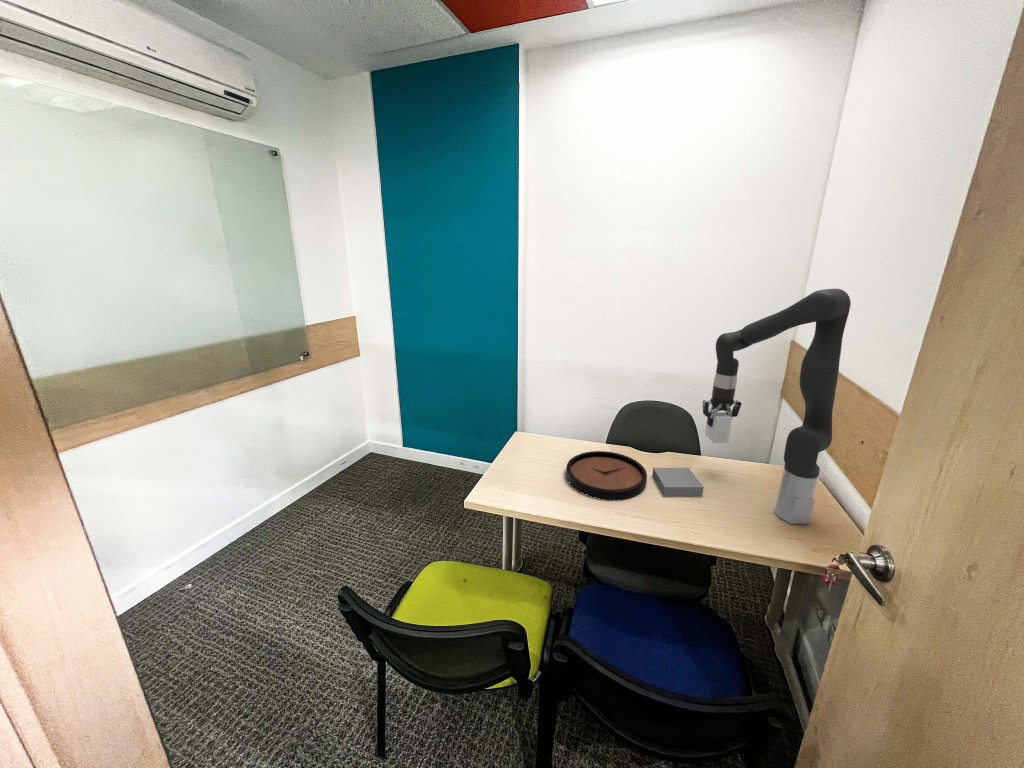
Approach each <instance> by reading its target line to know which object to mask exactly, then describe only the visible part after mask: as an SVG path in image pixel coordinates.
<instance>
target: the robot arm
mask: <svg viewBox="0 0 1024 768" xmlns="http://www.w3.org/2000/svg"><path fill="white" fill-rule="evenodd" d="M851 303H852V302H851V298H850V296H849V294H848V292H846V291H845V290H843V289H841V288H824V289H820V290H816V291H813V292H812V293H809V294H808V295H807V296H804V298H802V299H800V300H799V301H797V302H795V303H794V304H792V305H790V306H788V307H786V308H784V309H782V310H780V311H779V312H775V313H773V314H770V315H768V316H766V317H764V318H761V319H759V320H756V321H753V322H751V323H749V324H746V325H745V326H744V327H742V329H739V330H736V331H732V332H725V333H722V334H720V335H719V336H718V337H717V339H716V342H715V354H716V360H717V363H716V370H715V375H714V379H713V383H712V385H713V386H712V392H711V398H710V400H703V401H702V414H703V415H704V416H705V417H706V423H707V424H708V426H710V427H712V425H713V419H714V418H713V417H714V415H715V414H717V412H718V411H723V412H724V413H726V414H727V415H728V416H730V417H731V418H732V419H733V418H734V417H738V415H739V413H740V409H741V406H742V402H741V401H739V400H738V399H737V400H736V399H734V398H735V394H736V389H737V383H738V382H737V381H738V373H739V372H738V371H739V365H740V364H739V360H738V359H737V358H736V357H735V356H734V352H738V351H742V350H744V349H746V348H748V347H750V346H752V345H755V344H758V343H760V342H763V341H766V340H769V339H772V338H773V337H776V336H778V335H780V334H783V333H784V332H785V331H788V330H789V329H792V328H795V327H798V326H802V325H806V324H807V325H808V324H810V323H811V324H812V323H815V331H814V335H813V338H812V340H811V343H810V345H809V347H808V348H807V351H806V352H805V355H804V357H803V358H802V359H803V360H802V362H801V366H800V372H799V373H800V374H799V389H800V392H801V394H802V395H801V396H802V398H803V401H804V406H805V407H804V408H805V410H804V411H805V412H804V418H803V421H802V424H801V426H798V427H795V428H793V429H791V431H790V432H789V433H788V435H787V438H786V441H785V446H784V453H783V461H784V467H783V471H782V476H781V478H780V484H779V489H778V493H777V497H776V502H775V507H774V511H773V512H774V514H775V515H776V516H777V517H778V518H779V519H781V520H783V521H785V522H787V523H788V524H790V525H809V523H810V519H811V516H812V512H813V507H814V504H815V499H814V495H815V490H816V487H817V483H818V480H819V479H818V478H819V475H820V472H821V469H820V466H819V465H818V463H817V461H818V457H819V454H820V453H821V452H824V451H826V450H827V449H829V447H830V446H831V443H832V441H833V410H834V403H835V396H836V391H837V390H836V389H837V385H838V379H839V371H840V360H841V355H842V354H841V353H842V347H843V346H842V345H843V337H844V333H845V329H846V324H847V321H848V319H849V318H848V317H849V314H850V311H851ZM710 406H711V407H710ZM731 407H732V409H731ZM707 417H708V419H707Z"/></svg>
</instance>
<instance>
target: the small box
mask: <svg viewBox="0 0 1024 768" xmlns="http://www.w3.org/2000/svg"><path fill="white" fill-rule="evenodd" d="M713 418H714V419H713V425H712V427H710V426H708V424H707V422H706V425H705V433H704V435H705V436H706V437H707V438H708V439H709V440H710V441H711V443H713V444H729V440H730V434H731V427H732V420H733V417H732V418H731V417H730V416H728V415H727V414H726V413H725V411H718V412H717V414H715V415H714V417H713ZM707 419H708V417H706V420H707Z"/></svg>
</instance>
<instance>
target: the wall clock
mask: <svg viewBox="0 0 1024 768" xmlns="http://www.w3.org/2000/svg"><path fill="white" fill-rule="evenodd" d="M565 471H566V473H565V477H566V476H567V478H566V480H567V479H568V481H569V482H570V484H571V485H572V486H573V487H574V488H576V489H577V490H579V491H580V492H582V493H584V494H587V495H589V496H588V497H590V496H592V497H591V498H593V497H596V498H595V499H597V498H600V499H599V500H602V499H605V500H604V501H613V500H615V501H624V500H625V499H626V500H631V499H632V498H633V499H634V498H635V497H638V496H639V495H641V494H642V493H643V492H644V491H645V490H646V487H647V480H648V479H647V478H648V474H647V470H646V469H645V467H644V466H643V465H642V464H641V463H640V462H638V460H636V459H634V458H632V457H630V456H627V455H624V454H621V453H617V452H613V451H603V450H602V451H601V450H596V451H595V450H593V451H592V450H591V451H586V452H581V453H579V454H577V455H574V456H573V457H571V458H570V459H569V460H568V461H567V463H566V470H565ZM568 481H567V482H568ZM569 482H568V483H569ZM570 484H569V485H570ZM571 485H570V486H571ZM572 486H571V487H572ZM573 487H572V488H573ZM574 488H573V489H574ZM577 490H576V491H577ZM579 491H578V492H579ZM580 492H579V493H580ZM582 493H581V494H582ZM584 494H583V495H584ZM587 495H586V496H587Z"/></svg>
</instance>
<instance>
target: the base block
mask: <svg viewBox="0 0 1024 768" xmlns="http://www.w3.org/2000/svg"><path fill="white" fill-rule="evenodd" d="M652 478H653V480H654V482H655V484H656V485H657V487H658V489H659V490H660V492H661V494H662V496H663V497H675V498H677V497H681V498H682V497H683V498H684V497H691V498H692V497H693V498H694V497H695V498H696V497H697V498H698V497H699V498H702V497H703V493H704V486H703V484H702V483H701V482H700V481H699V479H698V478H697V477H696V475H695V473H693V471H692V470H691V469H690V467H652Z"/></svg>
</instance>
